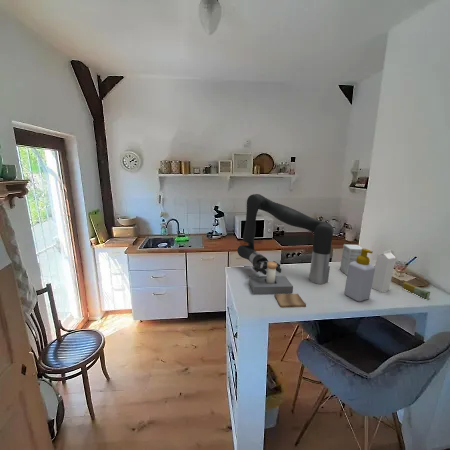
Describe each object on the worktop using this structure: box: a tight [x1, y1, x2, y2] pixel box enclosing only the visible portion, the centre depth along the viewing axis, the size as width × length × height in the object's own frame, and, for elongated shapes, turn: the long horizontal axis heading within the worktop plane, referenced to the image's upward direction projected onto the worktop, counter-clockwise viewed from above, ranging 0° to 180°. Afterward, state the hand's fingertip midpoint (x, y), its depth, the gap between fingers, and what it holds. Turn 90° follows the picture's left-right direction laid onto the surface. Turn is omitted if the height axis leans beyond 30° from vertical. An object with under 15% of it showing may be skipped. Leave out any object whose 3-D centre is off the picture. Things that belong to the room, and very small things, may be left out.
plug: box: [266, 261, 278, 284], centre depth 129 cm, size 5×5×14 cm
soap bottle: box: [343, 247, 375, 302], centre depth 122 cm, size 9×9×25 cm
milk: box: [371, 249, 397, 293], centre depth 131 cm, size 6×6×22 cm
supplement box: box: [339, 243, 363, 276], centre depth 152 cm, size 10×9×17 cm
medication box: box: [401, 281, 431, 300], centre depth 130 cm, size 12×3×4 cm, turn 23°
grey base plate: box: [248, 275, 294, 295], centre depth 130 cm, size 20×12×4 cm, turn 96°
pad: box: [273, 293, 307, 308], centre depth 119 cm, size 12×10×1 cm
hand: (273, 272), depth 127 cm, fingers open, 8 cm apart
